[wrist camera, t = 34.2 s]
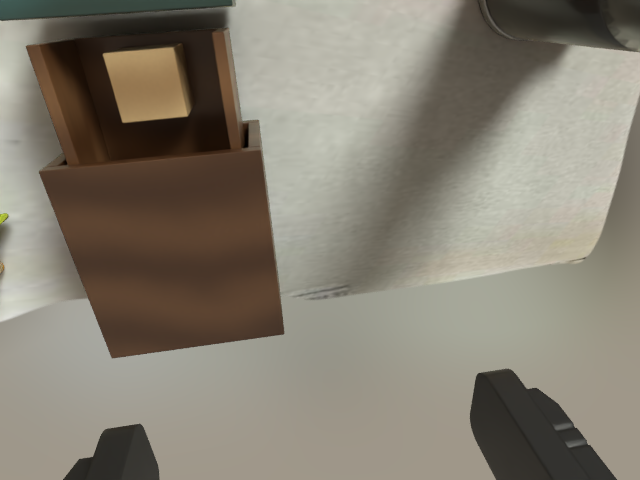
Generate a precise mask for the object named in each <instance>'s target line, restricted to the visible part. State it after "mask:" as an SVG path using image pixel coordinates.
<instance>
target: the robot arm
mask: <svg viewBox="0 0 640 480" xmlns="http://www.w3.org/2000/svg"><path fill="white" fill-rule="evenodd" d="M479 4H480V8H481V11H482V14H483V16H484V18H485V20H486V22H487V23H488V24H489V26H490V27H491V28H492V29H493V30H494V31H495V32H497V33H498V34H500V35H501V36H503V37H506V38H509V39H514V40H523V41H527V40H534V41H541V42H550V43H559V44H568V45H577V46H587V47H596V48H605V49H614V50H623V51H632V52H640V0H479ZM470 422H471V428H472V431H473V434H474V437H475V439H476V441H477V444H478V446H479V447H480V449H481V451H482V453H483V455H484V457H485V459H486V461H487V463H488V465H489V467H490V469H491V470H492V472H493V474H494V476H495V478H496V480H617V479H616V478H615V477H614V475H613V474H612V473H611V472H610V470H609V469H608V468H607V466H606V465H605V464H604V463H603V461H602V460H601V459H600V457H599V456H598V455H597V453H596V452H595V451H594V450H593V448H592V447H591V446H590V445H588V444H587V440H586V439H585V438H584V437H583V435H582V434H581V433H580V431H579V430H578V429H577V428H575V427H574V424H573V422H572V421H571V420H570V419H569V418H568V416H567V415H566V414H565V412H564V411H563V410H562V408H561V407H560V406H559V404H558V403H556V402H555V401H554V400H552V399H551V398H549V397H548V396H547V395H546V394H544V393H543V392H541V391H540V390H539V389H537V388H532V389H526V388H525V386H524V385H523V383H522V382H521V381H520V379H519V378H518V377H517V375H516V374H515V373H514V372H513V371H512V370H510V369H502V370H495V371H490V372H483V373H478V374H477V376H476V380H475V387H474V393H473V399H472V405H471V411H470ZM63 480H159V469H158V464H157V461H156V459H155V456H154V454H153V451H152V448H151V446H150V443H149V440H148V438H147V435H146V433H145V430H144V428H143V426H142V425H141V424H136V425H129V426H123V427H117V428H111V429H106V430H104V431H103V433H102V434H101V436H100V439H99V442H98V444H97V447H96V450H95V453H94V456H93V457H90V458H84V459H79V460H78V461H77V463H76V464H75V465H74V467H73V468H72V469H71V470H70V472H69V473H68V474H67V475H66V477H65V478H64V479H63Z"/></svg>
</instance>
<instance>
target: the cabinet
mask: <svg viewBox="0 0 640 480" xmlns="http://www.w3.org/2000/svg"><path fill="white" fill-rule="evenodd" d="M242 124H243V131H244V138H245V144H246V148H239V149H229V150H218V151H208V152H198V153H187V154H177V155H167V156H156V157H146V158H136V159H126V160H115V161H105V162H95V163H84V164H74V165H68V164H67V161H66V158H65V156H64V153H62V154H61V155H60V156H59V157H57V158H56V159H55V160H53V161H52V162H51V163H49V164H48V165H47V166H46V167H44V168H43V169H41V170H40V171H39V174H40V176H41V179H42V181H43V184H44V186H45V189H46V192H47V194H48V197H49V199H50V202H51V204H52V207H53V209H54V212H55V214H56V217H57V220H58V222H59V225H60V227H61V230H62V232H63V235H64V237H65V240H66V243H67V245H68V248H69V250H70V253H71V255H72V258H73V260H74V263H75V265H76V268H77V271H78V273H79V276H80V278H81V281H82V283H83V286H84V288H85V291H86V294H87V296H88V299H89V301H90V304H91V306H92V309H93V311H94V314H95V316H96V319H97V321H98V324H99V327H100V329H101V332H102V334H103V337H104V339H105V342H106V344H107V347H108V350H109V352H110V355H111V357H112V358H118V357H126V356H132V355H140V354H147V353H154V352H161V351H168V350H175V349H183V348H189V347H197V346H204V345H211V344H218V343H225V342H232V341H240V340H247V339H254V338H261V337H268V336H275V335H283V334H284V326H283V317H282V307H281V297H280V287H279V278H278V270H277V262H276V254H275V246H274V238H273V230H272V222H271V214H270V206H269V198H268V190H267V182H266V174H265V166H264V158H263V150H262V142H261V134H260V126H259V120H250V121H242Z"/></svg>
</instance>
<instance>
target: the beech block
mask: <svg viewBox="0 0 640 480" xmlns="http://www.w3.org/2000/svg"><path fill="white" fill-rule="evenodd" d="M103 58H104V61H105V65H106V68H107V72H108V75H109V78H110V82H111V85H112V89H113V92H114V96H115V99H116V102H117V106H118V109H119V113H120V116H121V120H122V122H123V123H132V122H142V121H151V120H161V119H171V118H181V117H188V115H189V114H190V112H191V110H192V108H193V107H194V105H195V102H194V97H193V92H192V87H191V82H190V77H189V72H188V67H187V63H186V58H185V53H184V48H183V44H182V43H172V44H161V45H149V46H137V47H126V48H119V49H116V50H113V51H109V52H106V53H103Z"/></svg>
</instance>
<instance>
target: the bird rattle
mask: <svg viewBox="0 0 640 480" xmlns="http://www.w3.org/2000/svg"><path fill="white" fill-rule="evenodd" d="M7 218H8V214H6V213H4V214H0V224H1V223H2V222H4V221H5V220H6V219H7ZM3 270H4V265H3V264H2V263H1V262H0V273H1V272H2V271H3Z"/></svg>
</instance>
